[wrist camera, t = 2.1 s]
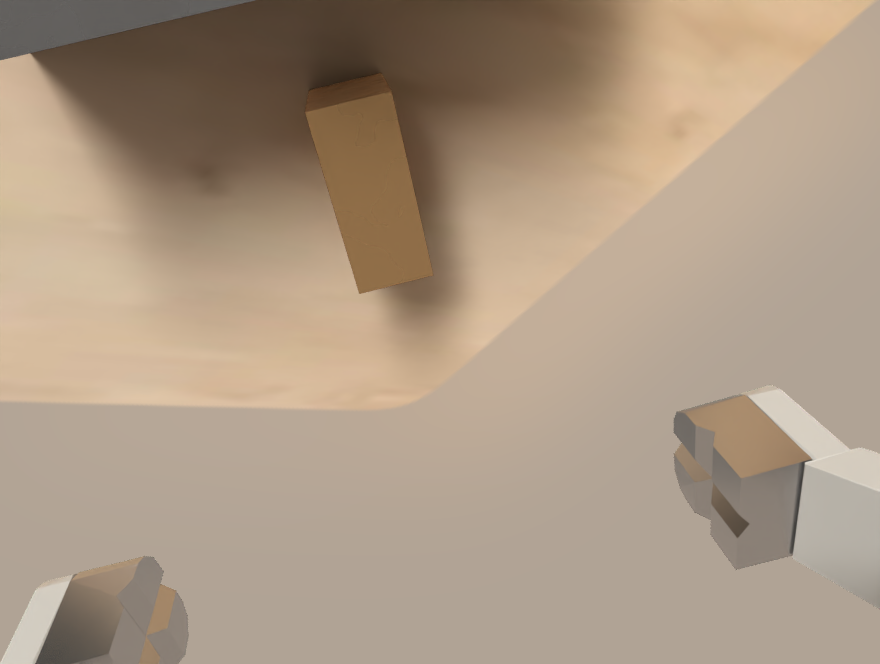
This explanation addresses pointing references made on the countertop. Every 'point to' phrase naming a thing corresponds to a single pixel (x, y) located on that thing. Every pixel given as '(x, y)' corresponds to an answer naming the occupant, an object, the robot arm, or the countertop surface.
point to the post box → (85, 20)
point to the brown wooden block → (369, 181)
